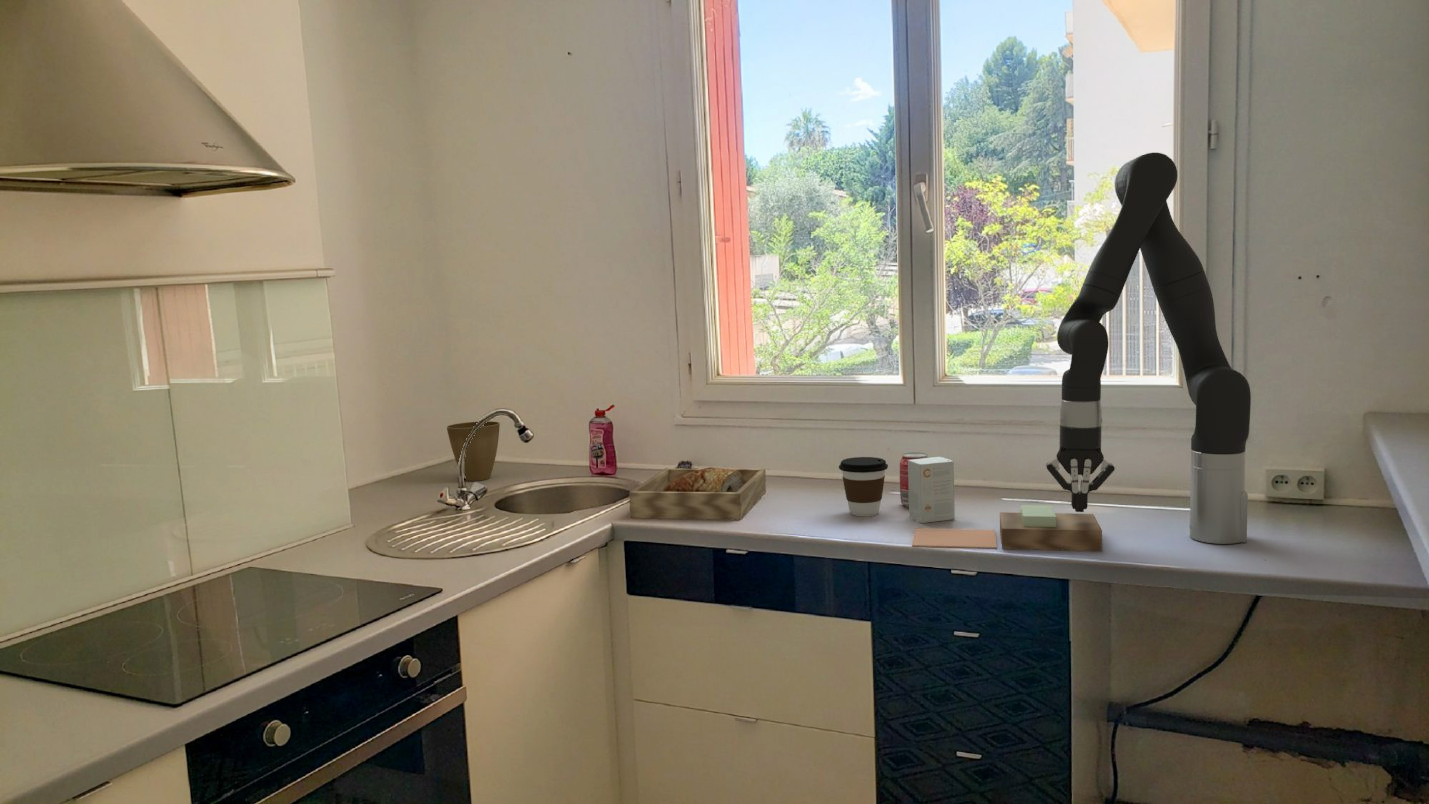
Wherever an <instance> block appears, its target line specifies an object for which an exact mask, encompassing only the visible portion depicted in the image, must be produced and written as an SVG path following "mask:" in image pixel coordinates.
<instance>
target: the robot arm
mask: <svg viewBox="0 0 1429 804" xmlns="http://www.w3.org/2000/svg"><path fill="white" fill-rule="evenodd" d="M1177 168H1178V167H1177V166H1176V163H1175V162H1174V161H1173V159H1172V158H1170V157H1169V156H1168V155H1167V154H1164V153H1162V152H1147V153H1145V154H1142V155H1139V156H1138V157H1135V158H1133V159H1131V160H1129V161H1127V162H1126V163H1124V164H1123V165H1122V166H1121V167H1120V168H1119V169H1118V171H1117V173H1116V174H1115V178H1114V191H1115V195H1116V196H1117V199H1118V202H1119V203H1120V206H1121V207H1120V210H1119V213H1118V215H1117V217H1116V219H1115V222H1114V224H1113V226H1112V227H1111V230H1110V232H1109V233H1108V235H1107V236H1106V238H1105V239H1104V241H1103V243H1102V244H1101V245H1100V248H1099V249H1098V250H1097V253H1096V254H1095V256H1094V257H1093V259H1092V262H1091V264H1090V265H1089V268H1088V270H1087V274H1086V276H1085V279H1084V280H1083V284H1082V286H1081V288H1080V291H1079V293H1078V295H1077V296H1076V298H1075V300H1074V301H1073V302H1072V303H1071V305H1070V307H1069V308H1068V310H1067V311H1066V313H1065V315H1064V316H1063V318H1062V319H1061V322H1060V324H1059V326H1058V330H1057V334H1056V339H1057V344H1058V345H1057V346H1058V347H1059V348H1060V350H1061V351H1062V352H1064V353H1066V354H1068V355H1071V359H1070V365H1069V369H1066V370H1065V371H1064V373H1063V374H1062V378H1061V400H1060V401H1061V403H1060V410H1059V449H1058V451H1057V453H1056V457H1055V458H1054V459H1053V460H1052V461H1048V462H1047V463H1046V464H1045V467H1046V470H1048V472H1049V473H1050V474H1051V476H1052V477H1053V479H1055V481H1056V482H1057V483H1058V484H1059V486H1060V487H1061V488H1062V489H1063V490H1064V491H1068V492H1069V491H1070V493H1071V500H1070V501H1071V503H1070V504H1071V507H1072V509H1074V511H1075V512H1076V513H1084V512H1085V511H1084V510H1087V508H1088V503H1089V501H1088V497H1089V496H1088V495H1089V493H1090V492H1093V491H1098V489H1099V488H1100V487H1101V486H1102V485H1103V483H1105V481H1106V480H1107V479H1108V478H1109V477H1110V476H1111V475H1112V474H1113V472H1115V470H1116V466H1114V464H1113V463H1111V462H1108V461H1107V460H1106V459H1105V457H1104V456H1105V455H1104V454H1103V452H1102V424H1103V416H1102V415H1103V413H1102V404H1101V400H1102V399H1101V397H1102V395H1101V393H1102V383H1101V382H1102V381H1101V378H1102V374H1103V372H1104V367H1105V365H1106V361H1107V358H1108V357H1107V356H1108V352H1109V336H1108V335H1109V334H1108V331H1107V329H1106V327H1105V326H1104V324H1102V322H1101V320H1102V318H1103V316H1104V315H1105V314H1107V313H1109V312H1111V311H1112V310H1114V309H1115V307H1116V305H1117V304H1118V302H1119V299H1120V297H1121V295H1122V292H1123V290H1124V287H1125V285H1126V282H1127V280H1128V277H1129V275H1130V272H1131V270H1132V268H1133V265H1134V263H1135V260H1136V259H1137V256H1138V254H1139V252H1140V253H1141V255H1142V259H1143V262H1144V264H1145V267H1146V270H1147V274H1148V276H1149V280H1150V283H1151V287H1152V290H1153V292H1154V295H1155V298H1156V301H1157V303H1158V306H1159V308H1160V311H1161V313H1162V315H1163V317H1164V320H1165V322H1166V325H1167V327H1168V331H1169V332H1170V334H1171V336H1172V339H1173V341H1174V343H1175V344H1176V347H1177V350H1178V353H1179V357H1180V361H1181V364H1182V368H1183V369H1182V370H1183V372H1184V377H1185V382H1186V386H1187V387H1186V388H1187V391H1188V394H1189V397H1190V400H1191V401H1192V403H1193V404H1194V405H1195V425H1194V431H1193V434H1192V435H1191V439H1190V441H1191V442H1190V449H1191V450H1190V496H1189V497H1190V498H1189V500H1190V502H1189V503H1190V504H1189V505H1190V506H1189V508H1190V509H1189V537H1190V538H1191V539H1192V540H1196V541H1198V542H1202V543H1208V544H1209V543H1210V544H1216V545H1217V544H1218V545H1227V544H1228V545H1232V544H1238V543H1247V541H1248V540H1247V539H1248V507H1249V506H1248V504H1249V503H1248V502H1249V501H1248V500H1249V499H1248V497H1249V495H1248V492H1247V491H1245V489H1246V488H1245V485H1246V484H1245V483H1246V482H1245V480H1246V477H1245V475H1246V445H1247V440H1248V438H1249V434H1250V421H1251V405H1252V404H1251V402H1252V395H1251V393H1252V392H1251V387H1250V383H1249V381H1248V380H1247V378H1246V376H1244V375H1243V374H1242V373H1241V372H1240V371H1237V370H1236V369H1233V368H1232V366H1231V365H1230V363H1229V361H1228V358H1227V357H1226V354H1225V352H1224V350H1223V348H1222V346H1221V345H1222V344H1221V343H1220V339H1219V336H1218V331H1217V326H1216V325H1217V324H1216V313H1215V312H1216V311H1215V310H1216V309H1215V302H1214V297H1213V293H1212V289H1211V285H1210V283H1209V281H1208V278H1207V275H1206V272H1205V269H1204V267H1203V263H1202V262H1201V260H1200V258H1199V256H1198V255H1197V253H1196V252H1195V251H1194V249H1193V248H1192V247H1191V245H1190V244H1189V243H1188V241H1187V240H1186V238H1185V237H1184V236H1183V235H1182V233H1181V232H1180V231H1179V229H1178V227H1177V226H1176V224H1175V222H1174V220H1173V217H1172V215H1171V211H1170V208H1169V204H1168V202H1167V201H1168V199H1169V198H1170V195H1171V194H1172V193H1173V191H1174V189H1175V187H1176V185H1177V182H1178V170H1177ZM1059 464H1060V465H1061V466H1062V468H1063V469H1064V470H1065V471H1066V473H1067V474H1068V475H1069V479H1070V482H1069V481H1068V482H1067V480H1066V479H1065V478H1064V476H1063V475H1062V473H1060V472H1059V471H1060V469H1061V468H1060V465H1059ZM1097 468H1099V470H1100V471H1099V473H1098V474H1097V475H1096V476H1095V477H1094V479H1093V480H1092V481H1091V482H1090V480H1091V479H1090V478H1091V475H1092V474H1093V473H1095V471H1096V470H1097ZM1079 476H1080V487H1079ZM1075 512H1074V513H1075Z"/></svg>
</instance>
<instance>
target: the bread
mask: <svg viewBox="0 0 1429 804" xmlns="http://www.w3.org/2000/svg"><path fill="white" fill-rule="evenodd" d="M699 469H700V470H696V471H694V472H690V473H687V474H684V475H682V476H680V477H678V478H676V479H674V480H673V481H671V482H670V483H668V484H667V485H666V486H665V487H664V488H663V489H662V490H661V491H660V492H737V491H738V490H739V489H740V488H741V487H742V486H743V483H742V482H743V476H742V474H741V472H739V471H737V470H733V469H734V468H718V467H712V466H711V467H709V466H708V467H705V468H699Z"/></svg>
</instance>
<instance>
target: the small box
mask: <svg viewBox="0 0 1429 804" xmlns="http://www.w3.org/2000/svg"><path fill="white" fill-rule="evenodd" d="M954 463H955V462H954V460H951V459H949V458H946V457H943V456H933V457H928V458H922V459H912V460H908V485H909V507H908V509H909V510H908V512H909V514H908V515H909V518H911V519H913V520H914V521H916V522H918V523H920V524H926V523H927V524H928V523H934V522H941V521H942V522H943V521H950V520H955V518H956V517H955V516H956V514H955V513H956V511H955V510H956V509H955V508H956V506H955V467H954V466H955V465H954Z"/></svg>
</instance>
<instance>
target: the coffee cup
mask: <svg viewBox="0 0 1429 804" xmlns="http://www.w3.org/2000/svg"><path fill="white" fill-rule="evenodd" d="M888 468H889V465H888V464H887V462H886V460H885V459H884V458H881V457H873V456H855V457H848V458H844V459H842V460H841V461H840V464H839V465H838V469H839V470H840V471H841V472H842V481H843V489H844V492H845V498H846V500H847V505H848V509H849V512H850V513H851V515H853V516H856V517H870V516H871V517H873V516H876V515H878V513H879V512H880V510H881V509H880V508H881V501H882V499H883V493H884V485H885V478H886V476H885V472H886V470H887V469H888Z"/></svg>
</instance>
